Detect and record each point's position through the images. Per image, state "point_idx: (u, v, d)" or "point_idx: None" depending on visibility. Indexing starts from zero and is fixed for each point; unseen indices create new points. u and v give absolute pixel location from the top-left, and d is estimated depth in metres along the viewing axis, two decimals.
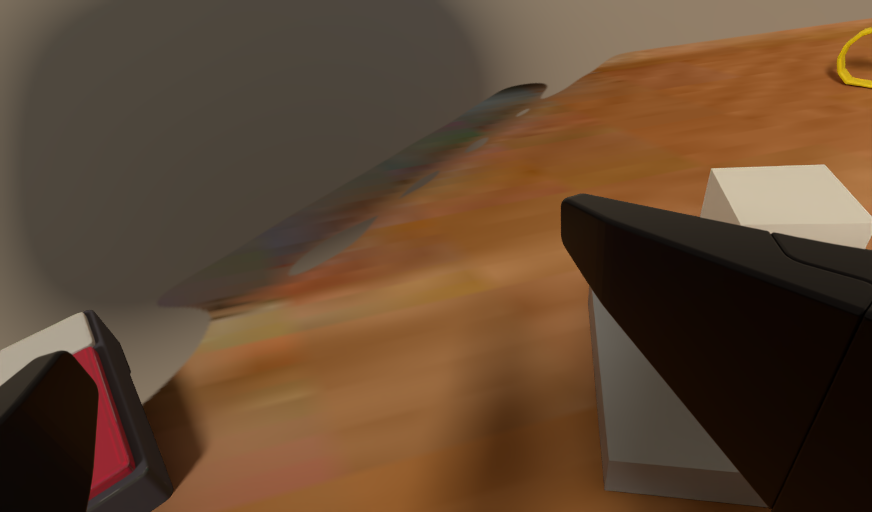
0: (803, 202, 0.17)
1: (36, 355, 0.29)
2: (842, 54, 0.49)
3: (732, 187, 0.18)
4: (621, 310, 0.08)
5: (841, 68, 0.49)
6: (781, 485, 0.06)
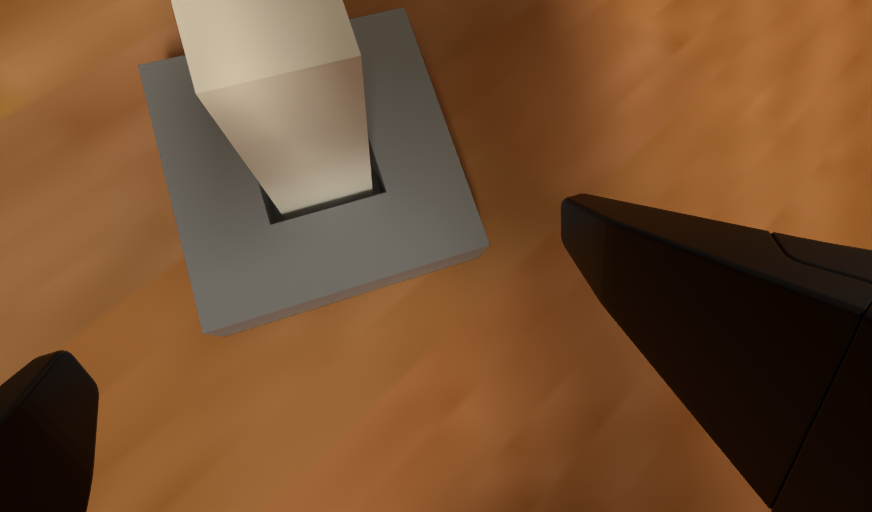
0: (279, 24, 0.12)
1: None
2: None
3: (188, 1, 0.12)
4: (621, 310, 0.08)
5: None
6: (780, 485, 0.06)
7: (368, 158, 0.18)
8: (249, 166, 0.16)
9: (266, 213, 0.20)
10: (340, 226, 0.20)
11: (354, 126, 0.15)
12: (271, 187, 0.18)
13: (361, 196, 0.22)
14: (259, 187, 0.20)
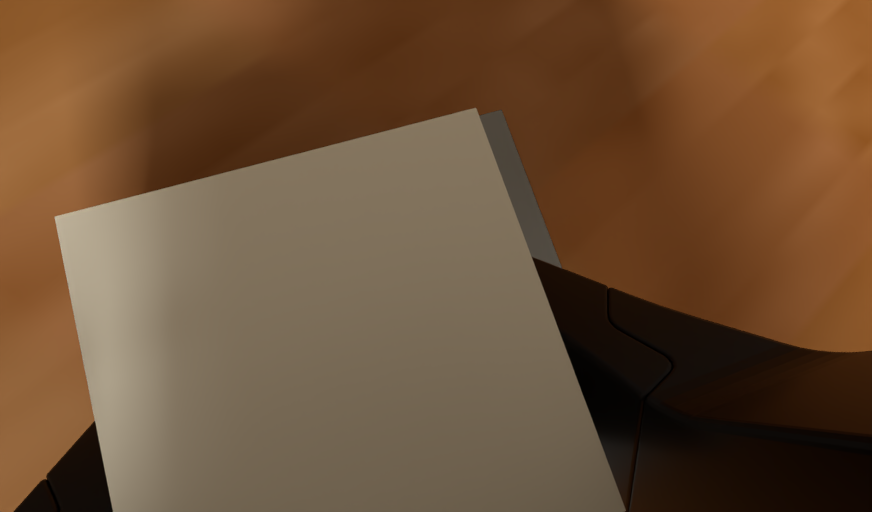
0: (399, 429, 0.04)
1: None
2: None
3: (134, 372, 0.04)
4: None
5: None
6: None
7: None
8: None
9: None
10: None
11: None
12: None
13: None
14: None
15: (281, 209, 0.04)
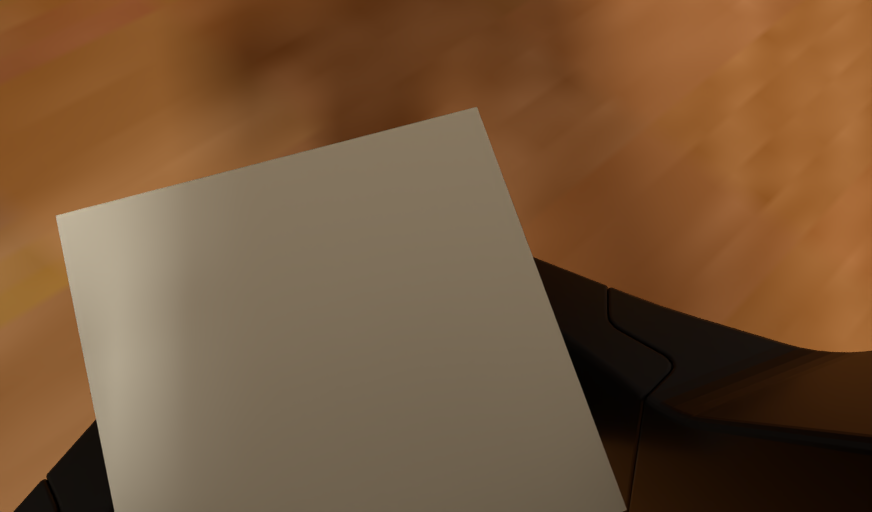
0: (400, 427, 0.04)
1: None
2: None
3: (135, 371, 0.04)
4: None
5: None
6: None
7: None
8: None
9: None
10: None
11: None
12: None
13: None
14: None
15: (282, 208, 0.04)
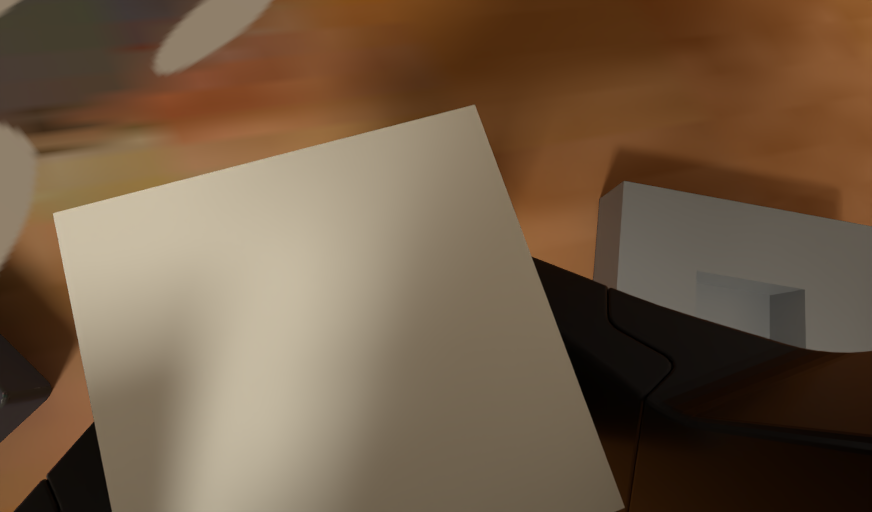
0: (399, 425, 0.04)
1: None
2: None
3: (133, 369, 0.04)
4: None
5: None
6: None
7: None
8: None
9: None
10: None
11: None
12: None
13: None
14: None
15: (280, 206, 0.04)
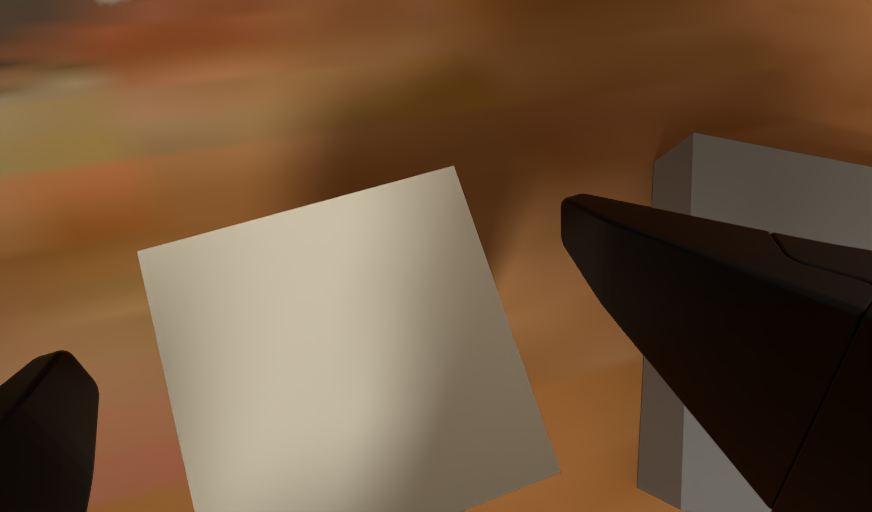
0: (392, 410, 0.06)
1: None
2: None
3: (198, 367, 0.06)
4: (621, 310, 0.08)
5: None
6: (781, 485, 0.06)
7: None
8: None
9: None
10: None
11: None
12: None
13: None
14: None
15: (305, 245, 0.06)
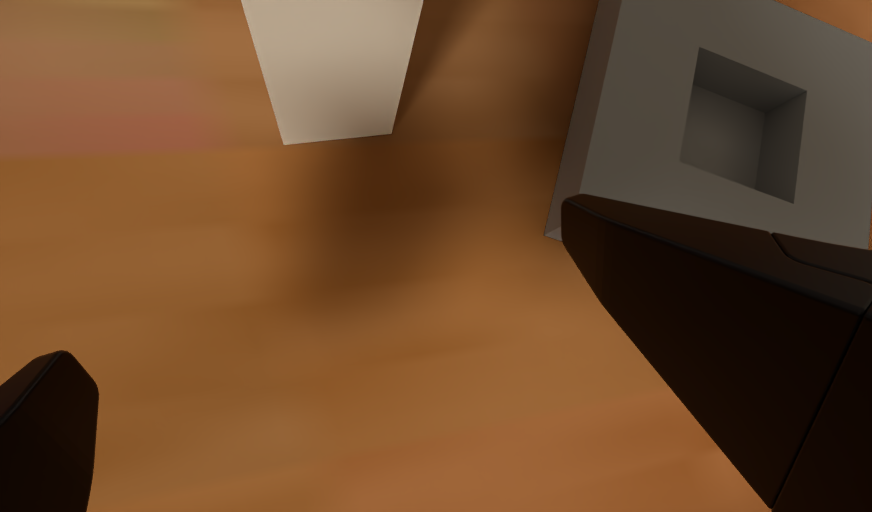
0: None
1: None
2: None
3: None
4: (621, 310, 0.08)
5: None
6: (780, 485, 0.06)
7: (406, 65, 0.14)
8: (253, 33, 0.11)
9: (679, 148, 0.18)
10: (738, 206, 0.18)
11: (406, 1, 0.11)
12: (274, 79, 0.13)
13: (379, 124, 0.18)
14: (684, 121, 0.18)
15: None
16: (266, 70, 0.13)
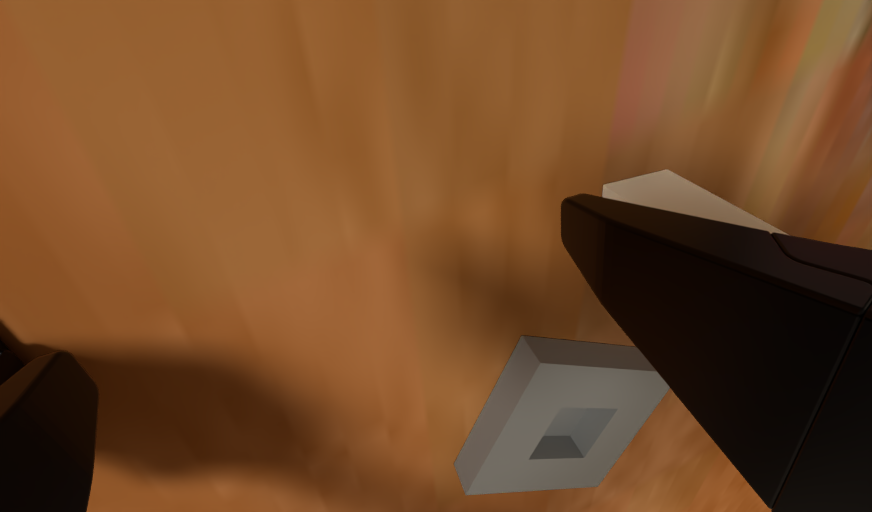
0: None
1: None
2: None
3: None
4: (621, 310, 0.08)
5: None
6: (780, 485, 0.06)
7: None
8: None
9: (567, 406, 0.31)
10: (531, 436, 0.32)
11: None
12: None
13: None
14: (581, 406, 0.32)
15: None
16: None
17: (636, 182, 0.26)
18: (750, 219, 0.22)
